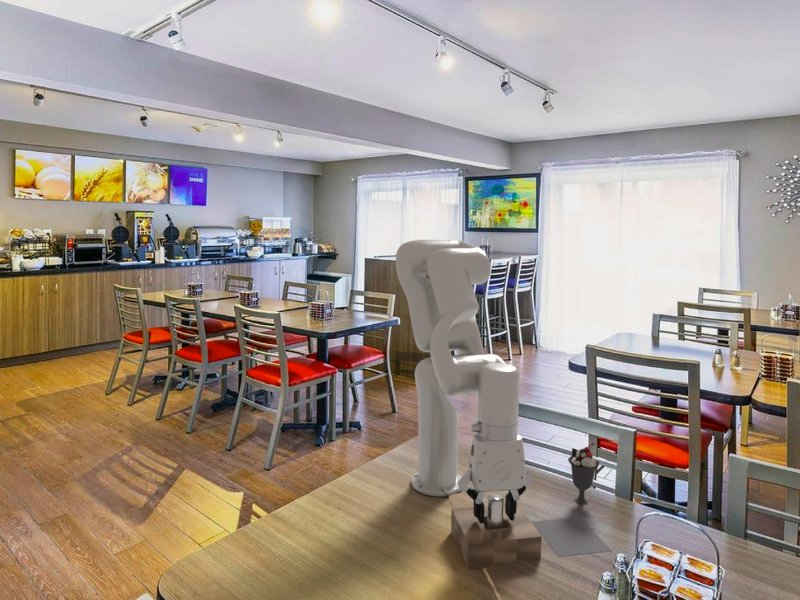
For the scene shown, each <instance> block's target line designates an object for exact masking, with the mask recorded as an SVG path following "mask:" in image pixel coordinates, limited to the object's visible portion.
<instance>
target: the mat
mask: <svg viewBox="0 0 800 600" xmlns="http://www.w3.org/2000/svg"><path fill="white" fill-rule="evenodd" d="M531 523H532V524H533V526H534V527H535V528H536V530H537V531H538V532H539V534H540V535H541V536H542V538H543V539H544V540H545V541H546V543H547V544H548V545H549V546H550V548H551V549H552V551H553V552H554V553H555V554H556V556H557V557H559V558H560V557H570V556H577V555H588V554H589V555H590V554H597V553H607V552H609V553H610V552H613V550H612V549H611V548H610V547H609V546H608V545H607V544H606V542H605V541H604V540H603V539H602V538H601V537H600V536H599V535H598V534H597V533H596V532H595V531H594V529H592V528H591V527H590V526H589V524H587V522H586V521H585V520H584V519H583V518H582V517H581V516H580V517H579V516H578V517H576V516H575V517H567V518H566V517H565V518H557V519H556V518H555V519H554V518H553V519H545V520H535V521H534V520H533V521H531Z"/></svg>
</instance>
